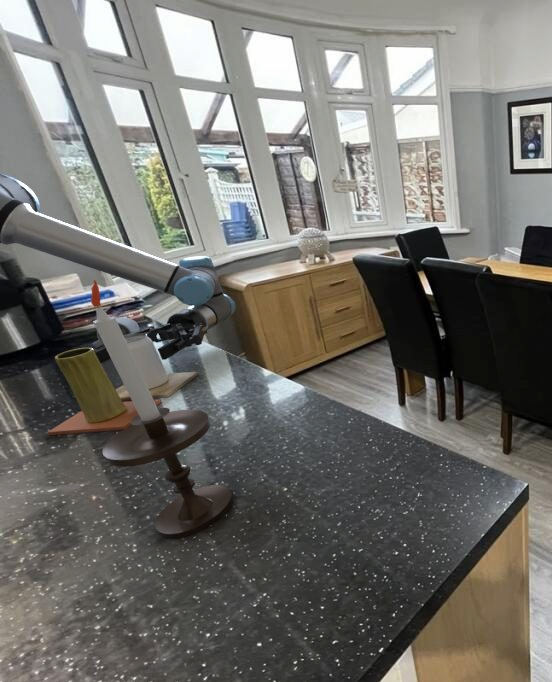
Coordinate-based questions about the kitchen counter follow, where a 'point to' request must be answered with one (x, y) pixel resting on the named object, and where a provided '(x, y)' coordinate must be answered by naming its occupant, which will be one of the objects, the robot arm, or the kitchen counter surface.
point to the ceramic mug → (125, 327)
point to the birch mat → (163, 386)
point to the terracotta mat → (82, 426)
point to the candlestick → (159, 440)
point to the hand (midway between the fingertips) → (129, 356)
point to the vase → (90, 385)
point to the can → (147, 360)
